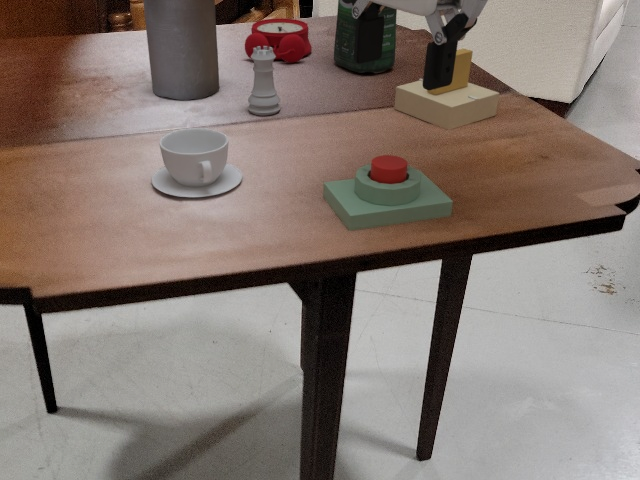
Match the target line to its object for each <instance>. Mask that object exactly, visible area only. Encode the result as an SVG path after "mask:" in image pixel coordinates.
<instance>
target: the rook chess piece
mask: <svg viewBox="0 0 640 480" xmlns="http://www.w3.org/2000/svg"><path fill="white" fill-rule="evenodd" d="M275 57H276V56H275V54H274V53H273V49H272V47H269V50H267V46H264V50H261V47H260V46H258V47H257V50H256V48H253V54H252V55H251V58H252V59H251V60H252V61H253V62H254V66H253V67H252V70H253V71H254V72H253V73H254V78H253V86H252V90H251V91H250V95H249V96H248V99H247V102H248V104H249V105H248V106H247V109H248V111H249V112H250V113H251V114H253V115H254V116H262V117H263V116H264V117H265V116H273V115H275V114H277V113H278V112H279V111H280V109H281V105H280V104H279V103H280V102H281V99H280V96H279V94H277V93H278V92H277V90H276V88H275V82H274V70H275V67H274V65H273V62H274V61H275V60H276V59H275Z"/></svg>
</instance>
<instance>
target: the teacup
mask: <svg viewBox="0 0 640 480" xmlns="http://www.w3.org/2000/svg"><path fill="white" fill-rule="evenodd" d="M229 141H230V140H229V137H228V135H226V134H225V133H223V131H219V130H216V129H212V128H206V127H189V128H188V127H187V128H181V129H177V130H174V131H171V132H168V133H166V134H164V135H163V136H162V137H160V139H159V142H158V144H159V145H158V146H159V149H160V154H161V158H162V162H163V165H164V166H162V167H160V168H159V169H158V170H156V171H155V172H154V173H153V175H152V176H151V184H152V186H153V187H154V188H155V189H156V190H158V191H160V192H162V193H164V194H167V195H170V196H174V197H181V198H204V197H205V198H206V197H212V196H217V195H219V194H224V193H226V192H228V191H230V190H232V189H234V188H235V187H237V186H238V185H239V184H240V183H241V181H242V180H243V174H242V171H241V170H240V169H239V168H238V167H236V166H235V165H234V164H231V163H228V156H229V155H228V154H229Z"/></svg>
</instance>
